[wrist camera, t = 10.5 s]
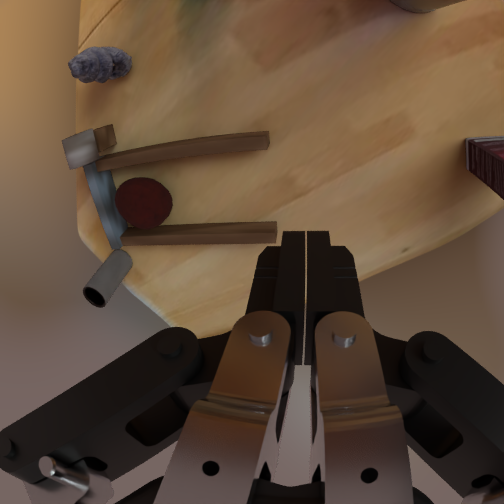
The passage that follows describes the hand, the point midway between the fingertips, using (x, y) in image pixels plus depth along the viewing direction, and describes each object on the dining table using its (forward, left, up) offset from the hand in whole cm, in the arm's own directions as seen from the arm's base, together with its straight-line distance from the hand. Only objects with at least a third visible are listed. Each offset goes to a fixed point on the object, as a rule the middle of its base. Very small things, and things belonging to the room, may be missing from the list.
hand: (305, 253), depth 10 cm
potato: (+8, -22, -27) cm, 36 cm away
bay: (+6, -17, -27) cm, 32 cm away
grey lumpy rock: (-12, -22, -27) cm, 37 cm away
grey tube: (+20, -32, -27) cm, 46 cm away
